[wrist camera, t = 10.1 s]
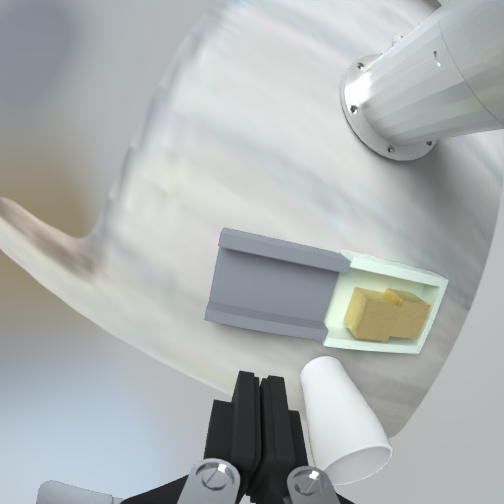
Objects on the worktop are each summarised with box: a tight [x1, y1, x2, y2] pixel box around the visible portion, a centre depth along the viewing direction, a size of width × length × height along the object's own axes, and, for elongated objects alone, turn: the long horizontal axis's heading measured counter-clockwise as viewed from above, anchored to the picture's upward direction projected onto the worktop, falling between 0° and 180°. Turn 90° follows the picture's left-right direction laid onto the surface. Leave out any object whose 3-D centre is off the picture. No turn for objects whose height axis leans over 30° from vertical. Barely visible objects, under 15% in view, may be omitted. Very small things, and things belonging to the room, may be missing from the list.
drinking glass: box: [300, 356, 393, 486], centre depth 23 cm, size 7×7×15 cm
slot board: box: [204, 228, 351, 341], centre depth 26 cm, size 8×12×3 cm
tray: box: [322, 249, 449, 354], centre depth 27 cm, size 9×13×3 cm
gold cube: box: [343, 287, 402, 341], centre depth 27 cm, size 4×4×4 cm
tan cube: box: [385, 288, 431, 339], centre depth 27 cm, size 4×4×4 cm
